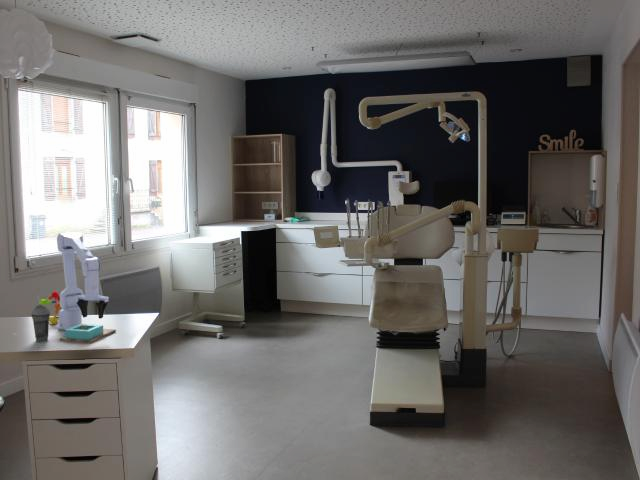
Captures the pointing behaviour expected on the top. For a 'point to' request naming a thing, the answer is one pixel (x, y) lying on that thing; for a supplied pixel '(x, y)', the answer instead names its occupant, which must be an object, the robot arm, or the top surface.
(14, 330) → the top surface
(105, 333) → the peg board
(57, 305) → the educational toy
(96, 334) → the loop
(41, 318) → the beverage cup
